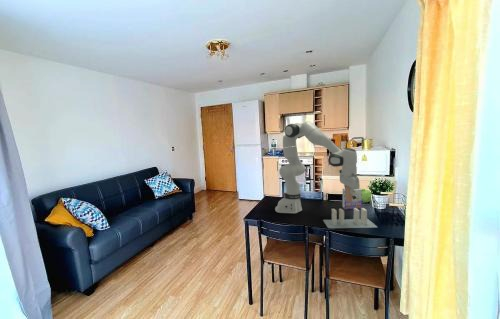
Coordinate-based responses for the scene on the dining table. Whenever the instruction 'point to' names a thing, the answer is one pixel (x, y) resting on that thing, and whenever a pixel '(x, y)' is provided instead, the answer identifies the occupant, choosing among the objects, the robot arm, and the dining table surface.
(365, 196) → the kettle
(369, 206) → the dining table surface
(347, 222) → the mat
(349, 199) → the domino
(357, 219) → the domino
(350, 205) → the candy box
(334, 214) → the domino
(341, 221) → the domino
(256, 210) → the dining table surface
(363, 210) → the domino
